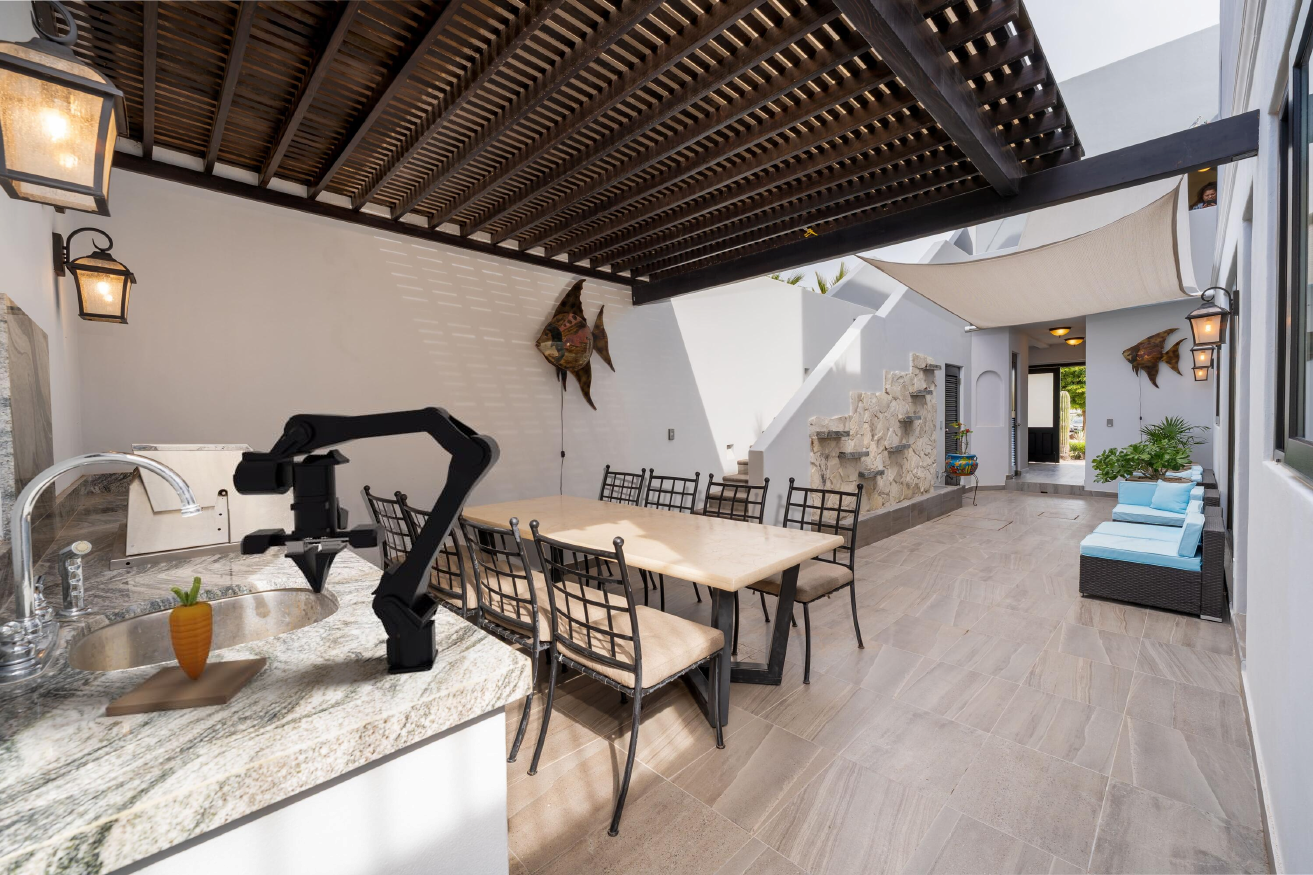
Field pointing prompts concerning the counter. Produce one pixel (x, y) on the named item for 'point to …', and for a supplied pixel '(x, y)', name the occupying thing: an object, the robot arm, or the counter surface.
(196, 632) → the carrot
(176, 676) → the walnut board
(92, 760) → the counter surface
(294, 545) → the robot arm
